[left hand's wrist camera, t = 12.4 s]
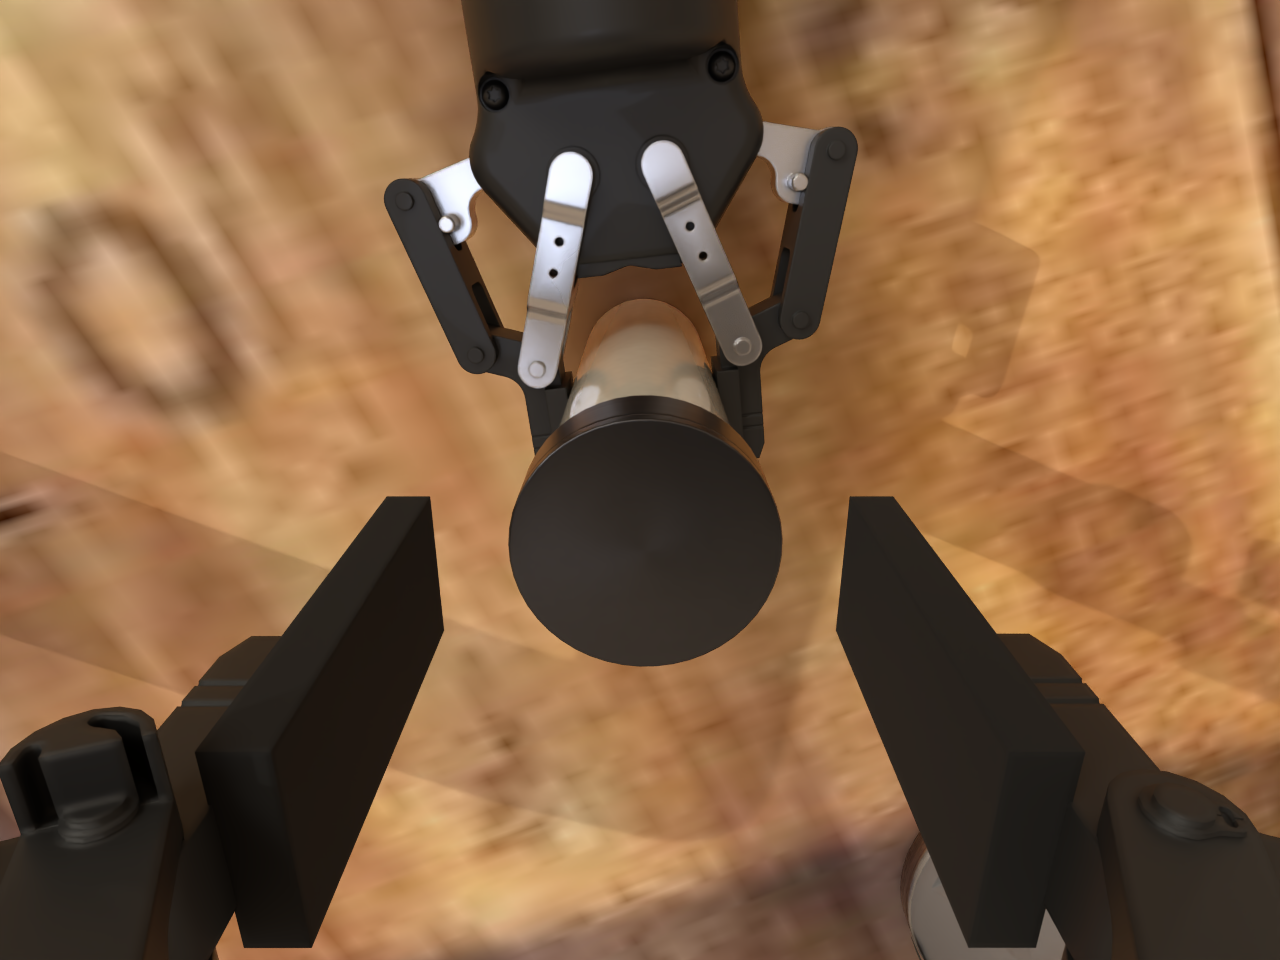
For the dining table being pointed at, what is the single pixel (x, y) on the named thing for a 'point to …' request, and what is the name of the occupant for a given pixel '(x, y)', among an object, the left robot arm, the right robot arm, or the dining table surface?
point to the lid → (645, 532)
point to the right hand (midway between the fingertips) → (653, 475)
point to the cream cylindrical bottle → (644, 359)
